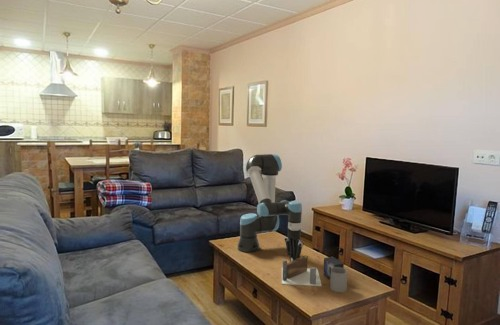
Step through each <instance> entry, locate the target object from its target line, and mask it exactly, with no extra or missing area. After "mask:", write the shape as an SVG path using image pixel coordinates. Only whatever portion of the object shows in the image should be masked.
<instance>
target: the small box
mask: <svg viewBox="0 0 500 325" xmlns="http://www.w3.org/2000/svg"><path fill="white" fill-rule="evenodd" d="M344 266H345V265H344V262H343V261H341V260H339V259H337V258H336V257H335V256H329V257H323V276H324V277H325V278H326V279H328V280H330V281H331V268H333V267H341V268H344ZM344 269H345V268H344Z"/></svg>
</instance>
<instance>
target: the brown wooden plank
mask: <svg viewBox="0 0 500 325" xmlns="http://www.w3.org/2000/svg"><path fill="white" fill-rule="evenodd" d="M308 259H309V256H308V255H306V254H304V255H302V256H301V257H299V258H297V260H294V261H292V262H290V261H289V262H287V278H288V279H289V278H291V277H294V276H296V275H298V274H301V273H303V272H305V271H307V268H308Z"/></svg>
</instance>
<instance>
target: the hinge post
mask: <svg viewBox="0 0 500 325" xmlns="http://www.w3.org/2000/svg"><path fill="white" fill-rule="evenodd" d="M287 263H288V261H287V260H283V261H282V267H283V278H282V277H281V281H282V280H283V281H286V280H287Z"/></svg>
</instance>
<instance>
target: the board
mask: <svg viewBox="0 0 500 325" xmlns="http://www.w3.org/2000/svg"><path fill="white" fill-rule="evenodd" d="M282 278H283V266H281V285H283V286H284V285H287V286H305V287H306V286H310V287H322V283H321V282H322V281H321V278H320V274H319V270H318V268H316V284H310V267H309V268H308V267H307V271H305V272H303V273H301V274H298V275H296V276H294V277H291V278H289V279H288V278H287V280H286V281H283V280H282Z"/></svg>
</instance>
